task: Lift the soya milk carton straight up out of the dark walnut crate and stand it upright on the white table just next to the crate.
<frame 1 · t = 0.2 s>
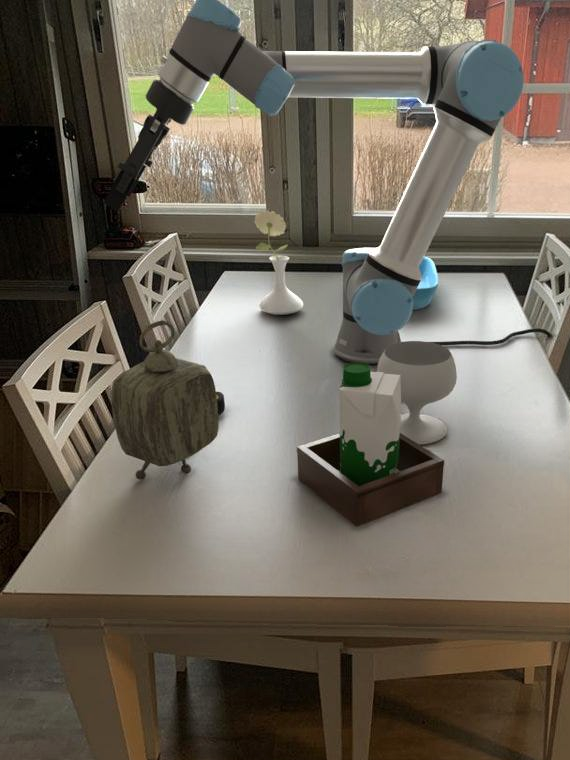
hand: (116, 199, 130), 36 cm above the table, tool tilted 35°, fingers open, 13 cm apart
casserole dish: (395, 295, 204), on the table
soya milk: (368, 487, 116), resting in crate
tabletop clock: (177, 470, 120), on the table
chalice: (413, 431, 133), on the table
crate: (369, 486, 116), on the table
tape measure: (205, 413, 138), on the table
flower in vase: (279, 311, 190), on the table
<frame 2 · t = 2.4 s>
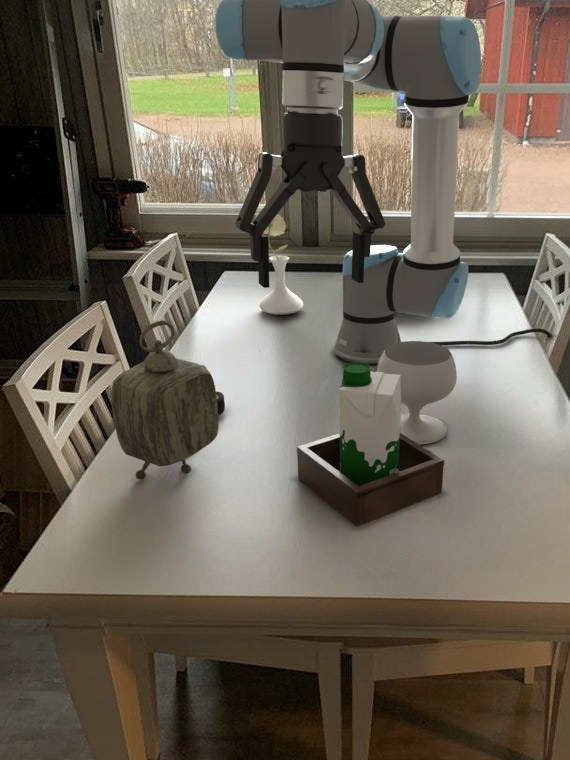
hand: (311, 283, 101), 32 cm above the table, tool pointing down, fingers open, 13 cm apart
nothing on the table moved.
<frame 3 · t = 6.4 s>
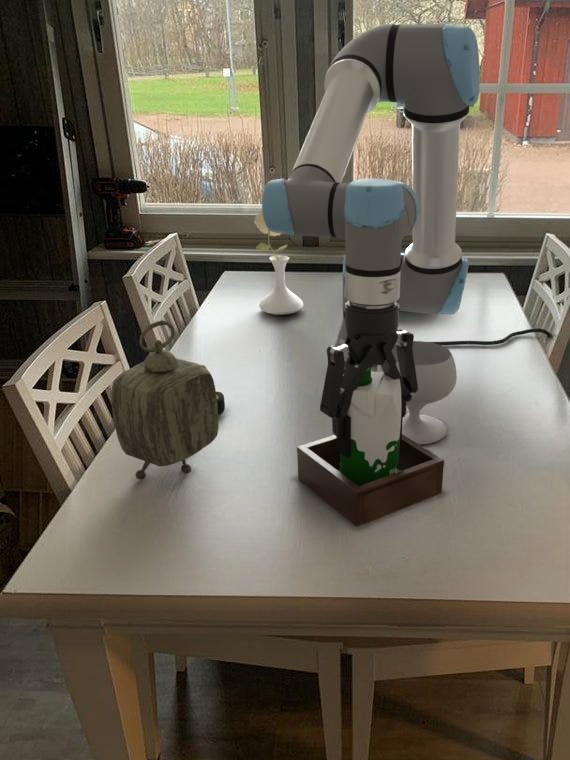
hand: (369, 444, 112), 8 cm above the table, tool pointing down, fingers closed on soya milk, 9 cm apart
soya milk: (368, 487, 116), resting in crate, touching gripper
everything else where it was.
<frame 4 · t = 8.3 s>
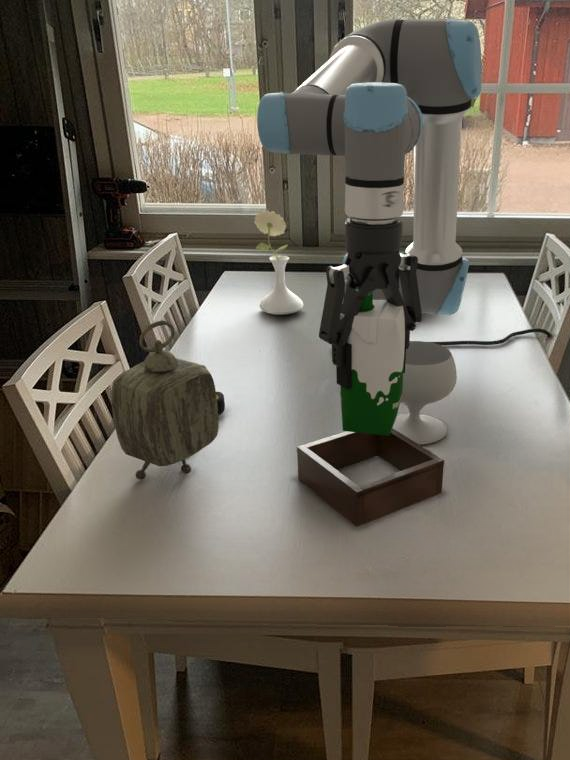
hand: (371, 377, 107), 19 cm above the table, tool pointing down, fingers closed on soya milk, 9 cm apart
soya milk: (370, 424, 111), point 11 cm above the table, touching gripper
everything else where it was.
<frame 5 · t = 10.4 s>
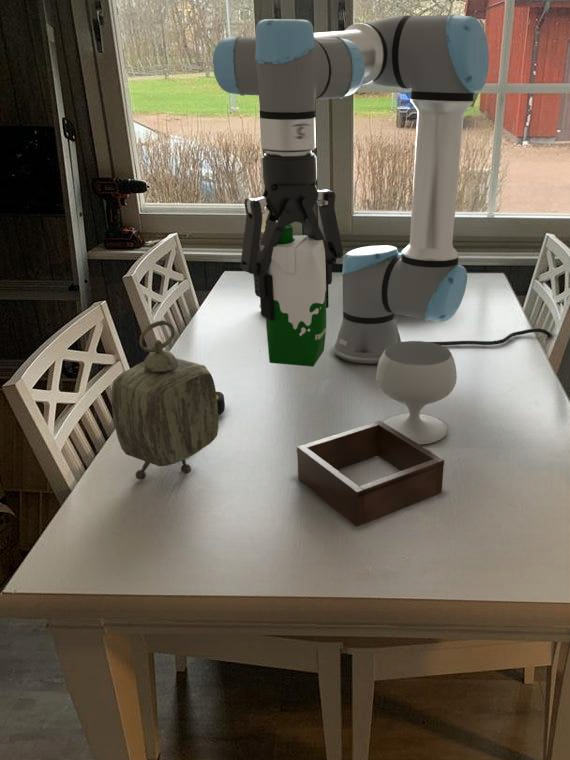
hand: (295, 311, 112), 25 cm above the table, tool pointing down, fingers closed on soya milk, 9 cm apart
soya milk: (297, 358, 116), point 17 cm above the table, touching gripper
everything else where it was.
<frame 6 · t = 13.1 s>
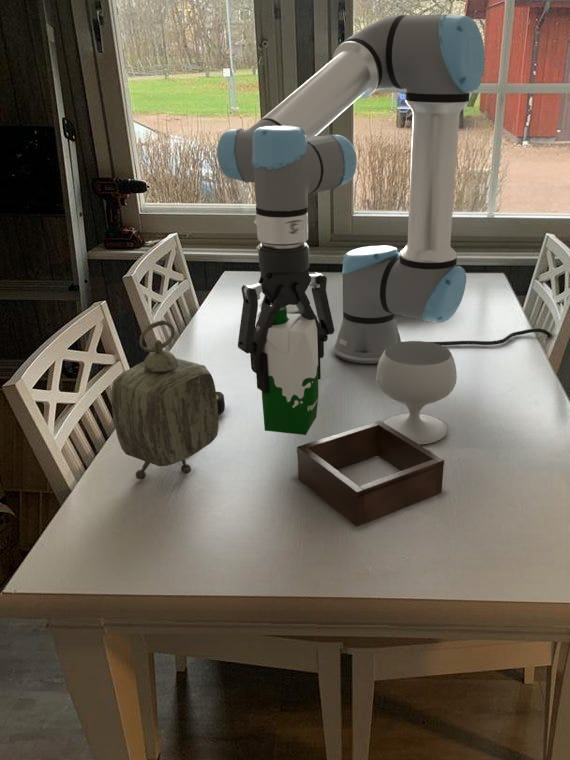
hand: (289, 383, 119), 13 cm above the table, tool pointing down, fingers closed on soya milk, 9 cm apart
soya milk: (291, 425, 123), point 5 cm above the table, touching gripper
everything else where it was.
when the fingers open (7 cm above the table, at t = 14.9 s): soya milk stays where it is, on the table.
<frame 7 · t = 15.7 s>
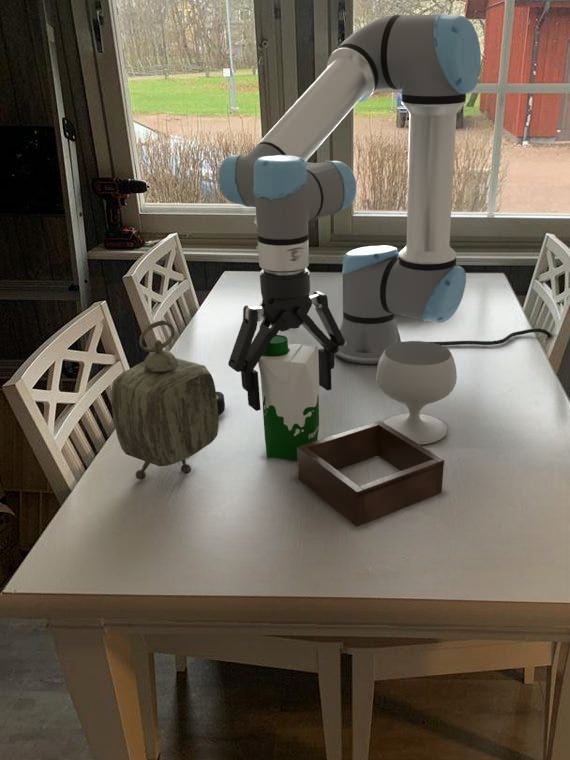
hand: (290, 397, 121), 10 cm above the table, tool pointing down, fingers open, 13 cm apart
soya milk: (292, 451, 126), on the table
everything else where it was.
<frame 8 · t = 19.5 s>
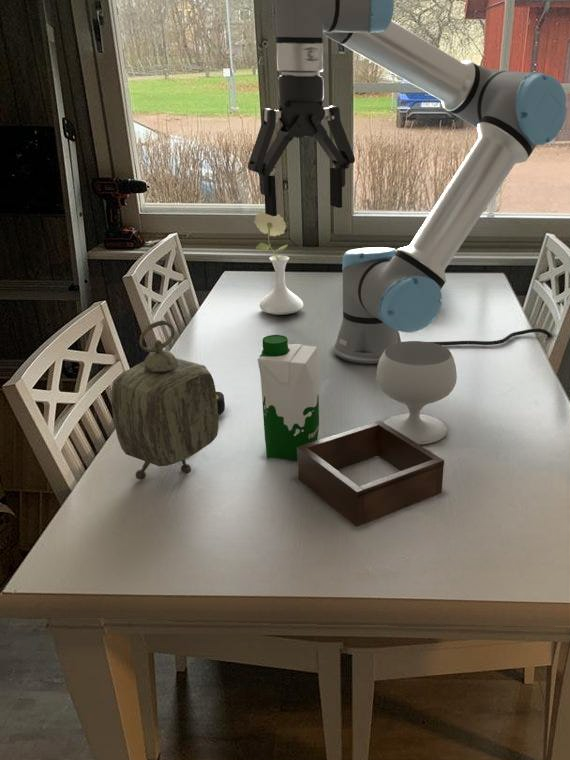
hand: (304, 210, 130), 35 cm above the table, tool pointing down, fingers open, 13 cm apart
nothing on the table moved.
at the end: soya milk inside the target area (0.0 cm from its centre), on the table; soya milk tilted 0°; the gripper is holding nothing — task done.
